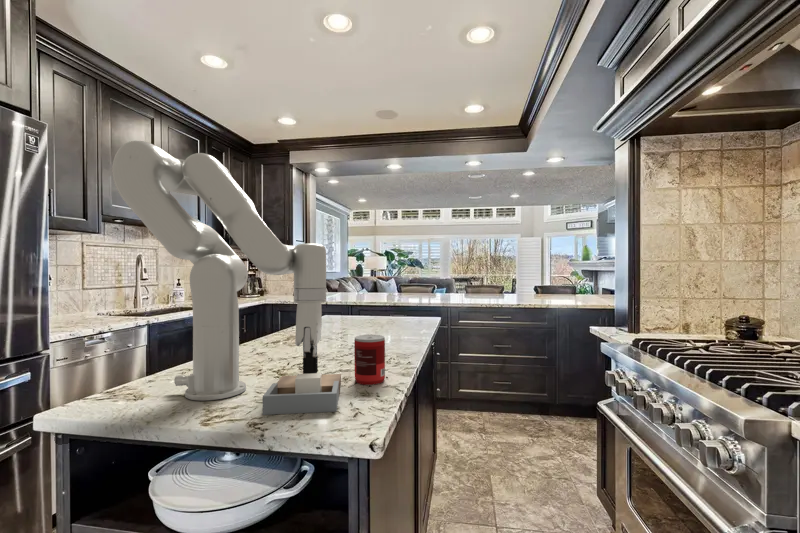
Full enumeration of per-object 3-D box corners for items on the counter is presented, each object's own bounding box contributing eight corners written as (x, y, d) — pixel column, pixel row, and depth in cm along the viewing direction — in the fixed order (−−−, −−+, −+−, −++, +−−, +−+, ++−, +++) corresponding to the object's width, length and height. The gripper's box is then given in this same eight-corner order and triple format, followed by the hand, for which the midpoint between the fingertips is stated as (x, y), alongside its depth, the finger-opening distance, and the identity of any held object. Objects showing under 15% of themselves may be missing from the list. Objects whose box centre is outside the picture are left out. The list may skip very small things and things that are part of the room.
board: (272, 399, 83) (272, 388, 83) (281, 386, 93) (281, 376, 93) (338, 397, 84) (338, 385, 85) (340, 384, 94) (340, 373, 94)
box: (262, 414, 74) (262, 396, 74) (272, 399, 83) (272, 383, 83) (336, 411, 76) (336, 393, 76) (338, 397, 84) (338, 380, 85)
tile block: (298, 397, 83) (295, 403, 79) (298, 373, 83) (295, 378, 79) (321, 396, 83) (320, 402, 79) (321, 373, 84) (320, 377, 80)
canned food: (379, 375, 103) (378, 333, 103) (389, 383, 95) (389, 338, 95) (351, 378, 100) (350, 335, 100) (359, 386, 92) (359, 340, 92)
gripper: (299, 294, 99) (299, 366, 98) (287, 298, 84) (287, 383, 84) (329, 294, 100) (329, 366, 99) (322, 297, 85) (323, 382, 84)
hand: (310, 373), depth 91 cm, fingers closed
